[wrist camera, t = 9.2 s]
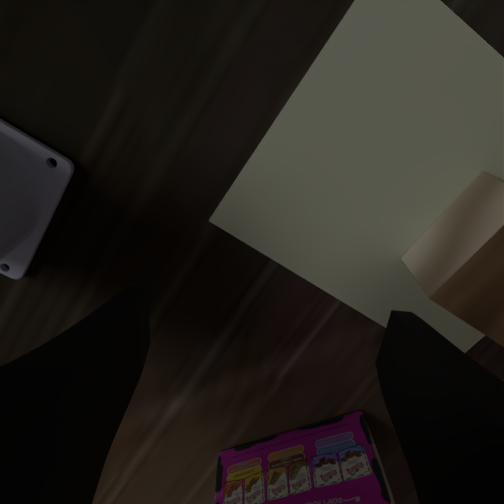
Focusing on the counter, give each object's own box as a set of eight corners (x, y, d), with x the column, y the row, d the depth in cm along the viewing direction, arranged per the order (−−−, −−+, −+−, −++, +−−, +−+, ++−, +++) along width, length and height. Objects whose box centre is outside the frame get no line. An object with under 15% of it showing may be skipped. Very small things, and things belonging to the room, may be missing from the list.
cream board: (208, 219, 22) (208, 220, 21) (385, -47, 16) (387, -49, 16) (448, 364, 26) (449, 366, 26) (647, 190, 21) (651, 191, 21)
